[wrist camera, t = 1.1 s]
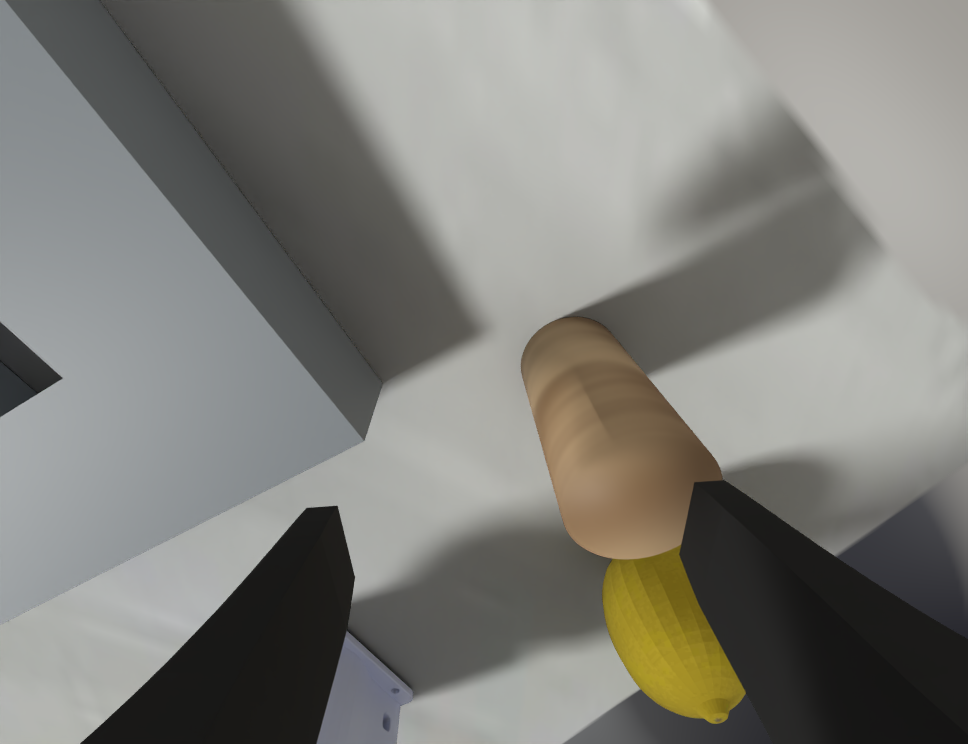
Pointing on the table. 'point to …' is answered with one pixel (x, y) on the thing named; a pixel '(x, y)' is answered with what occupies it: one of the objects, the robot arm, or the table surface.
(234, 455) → the socket block
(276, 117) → the table surface
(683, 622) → the lemon
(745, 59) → the table surface
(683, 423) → the peg
